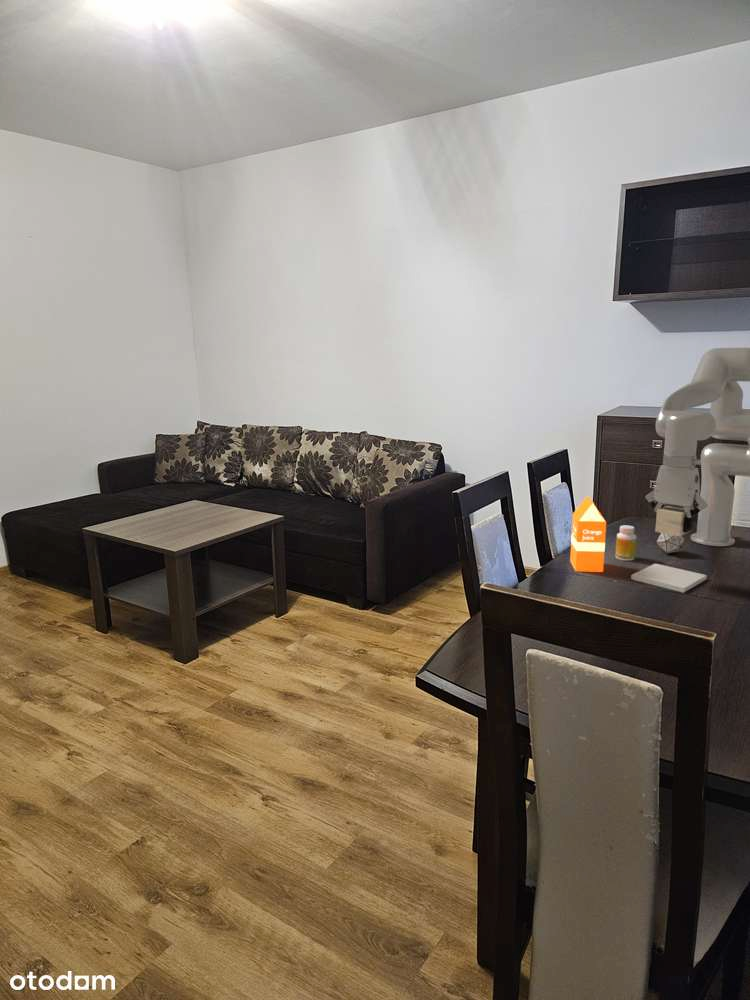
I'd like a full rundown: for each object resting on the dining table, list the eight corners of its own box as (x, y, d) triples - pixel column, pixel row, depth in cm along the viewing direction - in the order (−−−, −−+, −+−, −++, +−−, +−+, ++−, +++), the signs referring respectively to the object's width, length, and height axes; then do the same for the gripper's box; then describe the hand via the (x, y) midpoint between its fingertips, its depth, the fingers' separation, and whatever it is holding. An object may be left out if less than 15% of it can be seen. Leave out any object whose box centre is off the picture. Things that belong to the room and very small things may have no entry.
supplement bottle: (632, 562, 187) (635, 530, 185) (613, 559, 190) (615, 527, 188) (636, 557, 192) (638, 525, 189) (617, 554, 194) (619, 523, 192)
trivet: (654, 567, 182) (655, 563, 182) (706, 579, 172) (706, 575, 172) (631, 579, 173) (631, 575, 173) (683, 592, 163) (684, 588, 163)
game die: (674, 566, 194) (692, 546, 187) (647, 555, 195) (664, 535, 188) (675, 545, 200) (693, 525, 193) (649, 535, 201) (665, 515, 194)
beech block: (666, 527, 174) (667, 505, 173) (690, 531, 169) (692, 509, 168) (655, 531, 170) (657, 509, 168) (679, 536, 165) (681, 513, 164)
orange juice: (596, 562, 188) (601, 495, 183) (603, 572, 179) (608, 502, 175) (569, 561, 189) (573, 495, 184) (574, 571, 180) (578, 502, 176)
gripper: (720, 464, 161) (712, 532, 165) (652, 456, 174) (647, 520, 178) (708, 467, 157) (700, 538, 161) (639, 460, 169) (634, 525, 173)
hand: (672, 528), depth 169 cm, fingers closed on beech block, 6 cm apart
